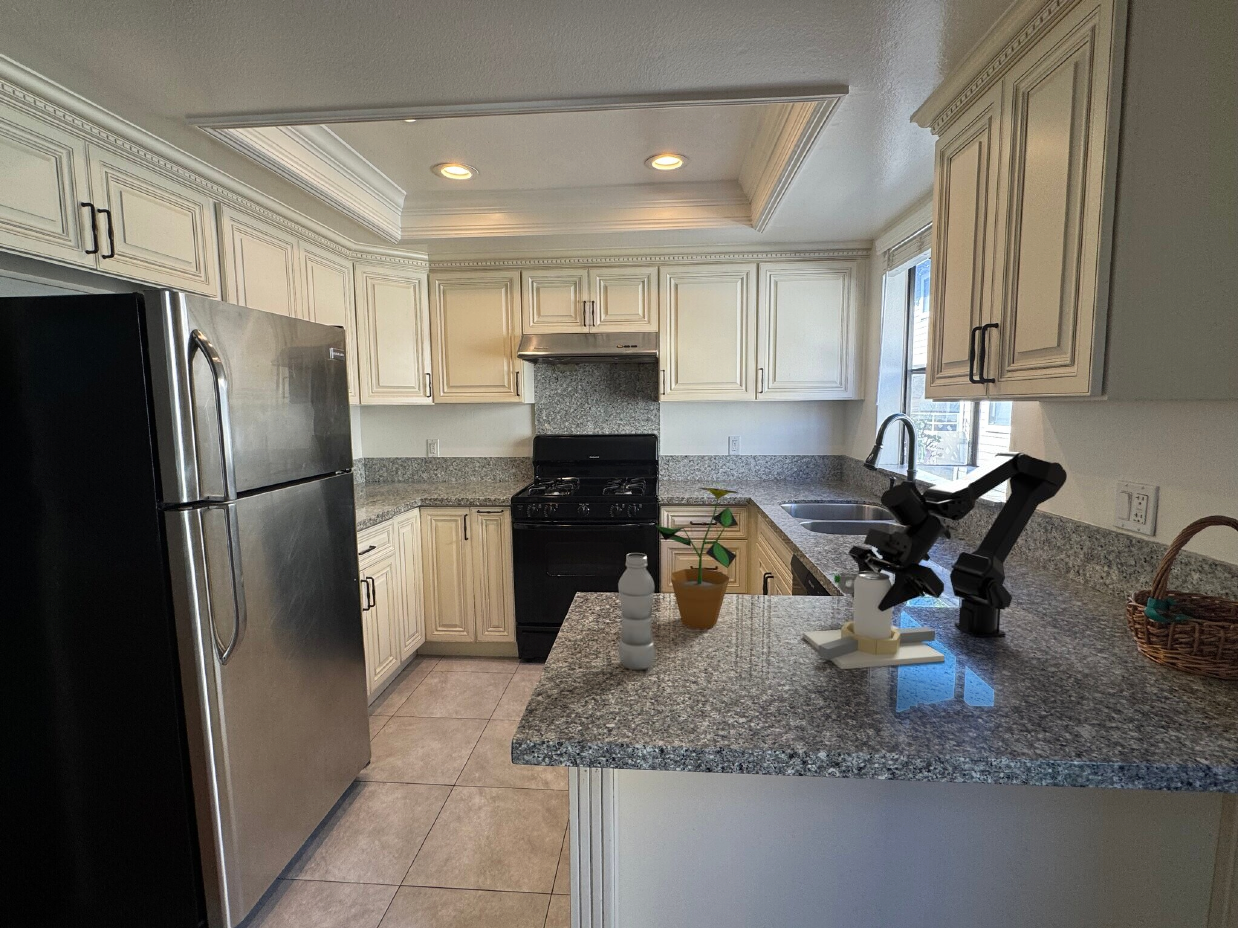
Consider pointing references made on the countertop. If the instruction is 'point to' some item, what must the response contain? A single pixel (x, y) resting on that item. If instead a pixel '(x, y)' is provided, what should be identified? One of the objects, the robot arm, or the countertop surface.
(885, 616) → the can
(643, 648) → the plastic bottle
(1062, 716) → the countertop surface
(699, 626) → the potted plant
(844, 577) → the mechanical component
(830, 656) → the octagonal ring fixture plate
